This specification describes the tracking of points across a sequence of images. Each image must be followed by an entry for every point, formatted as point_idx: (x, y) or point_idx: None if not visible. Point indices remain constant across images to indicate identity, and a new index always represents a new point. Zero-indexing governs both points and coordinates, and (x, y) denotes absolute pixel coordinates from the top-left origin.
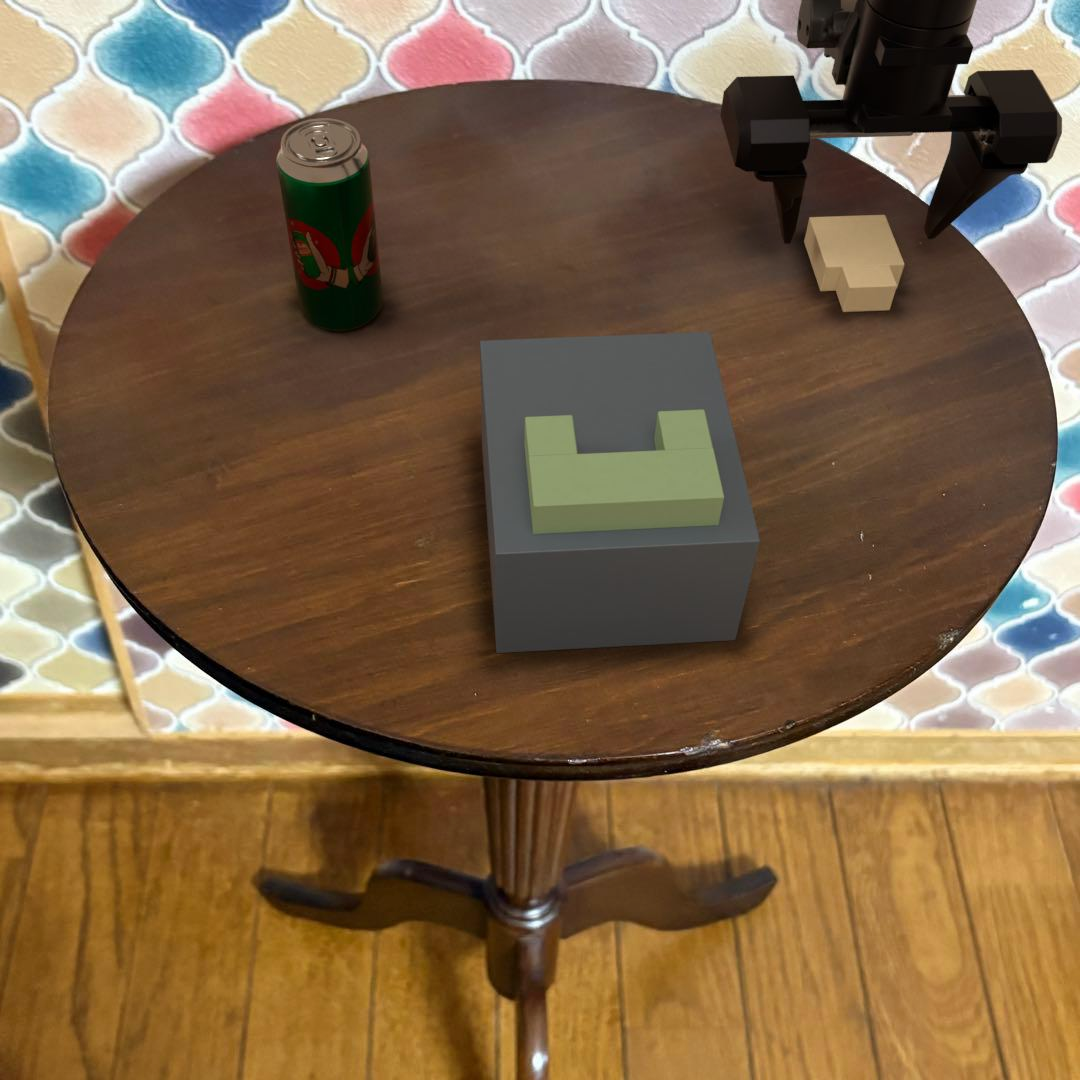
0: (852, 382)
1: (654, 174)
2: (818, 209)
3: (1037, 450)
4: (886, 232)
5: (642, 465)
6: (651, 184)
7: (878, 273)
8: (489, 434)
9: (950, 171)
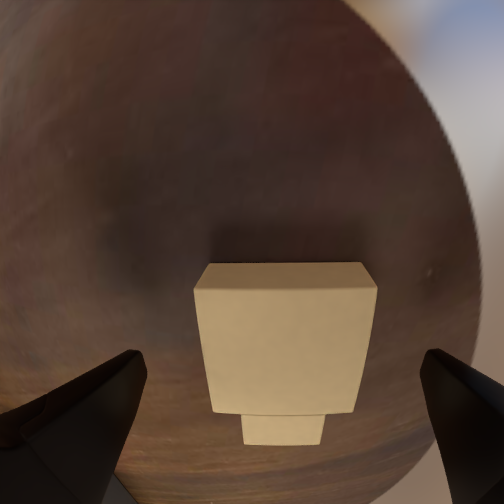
0: (240, 471)
1: (11, 91)
2: (258, 154)
3: (370, 499)
4: (357, 345)
5: None
6: (6, 116)
7: (299, 428)
8: None
9: (495, 461)
